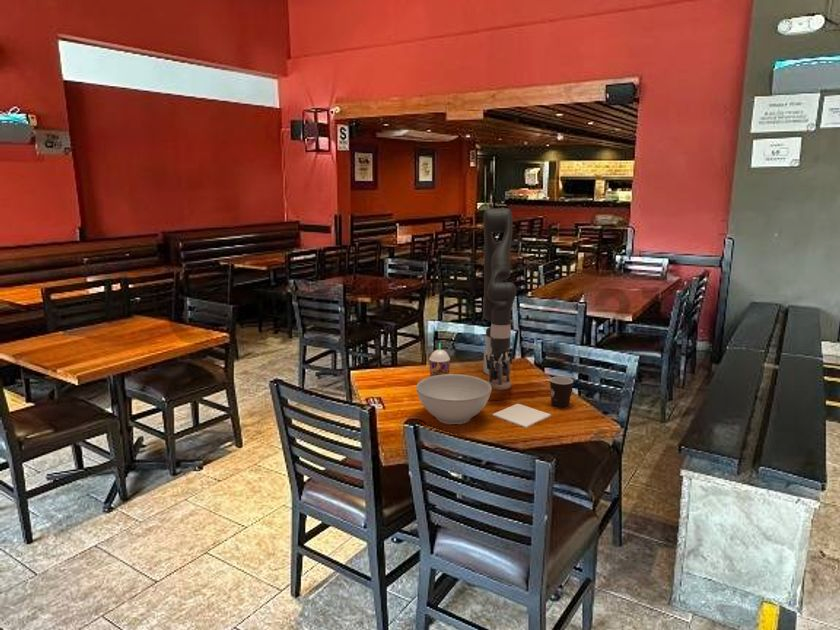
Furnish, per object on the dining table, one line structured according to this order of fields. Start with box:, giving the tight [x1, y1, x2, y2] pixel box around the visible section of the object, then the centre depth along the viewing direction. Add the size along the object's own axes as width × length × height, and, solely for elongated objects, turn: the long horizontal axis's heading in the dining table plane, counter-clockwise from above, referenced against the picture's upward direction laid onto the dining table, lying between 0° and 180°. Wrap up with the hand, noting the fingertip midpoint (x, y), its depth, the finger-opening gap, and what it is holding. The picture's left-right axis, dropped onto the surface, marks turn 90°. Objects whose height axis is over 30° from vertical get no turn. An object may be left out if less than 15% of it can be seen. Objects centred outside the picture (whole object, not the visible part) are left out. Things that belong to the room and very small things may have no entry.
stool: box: [486, 361, 512, 390], centre depth 227 cm, size 9×9×10 cm
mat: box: [491, 403, 552, 429], centre depth 216 cm, size 15×15×1 cm
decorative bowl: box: [415, 373, 493, 425], centre depth 214 cm, size 27×27×12 cm
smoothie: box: [428, 342, 451, 377], centre depth 240 cm, size 8×8×20 cm
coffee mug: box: [549, 376, 574, 409], centre depth 227 cm, size 12×9×10 cm
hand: (499, 377), depth 227 cm, fingers closed on stool, 5 cm apart
